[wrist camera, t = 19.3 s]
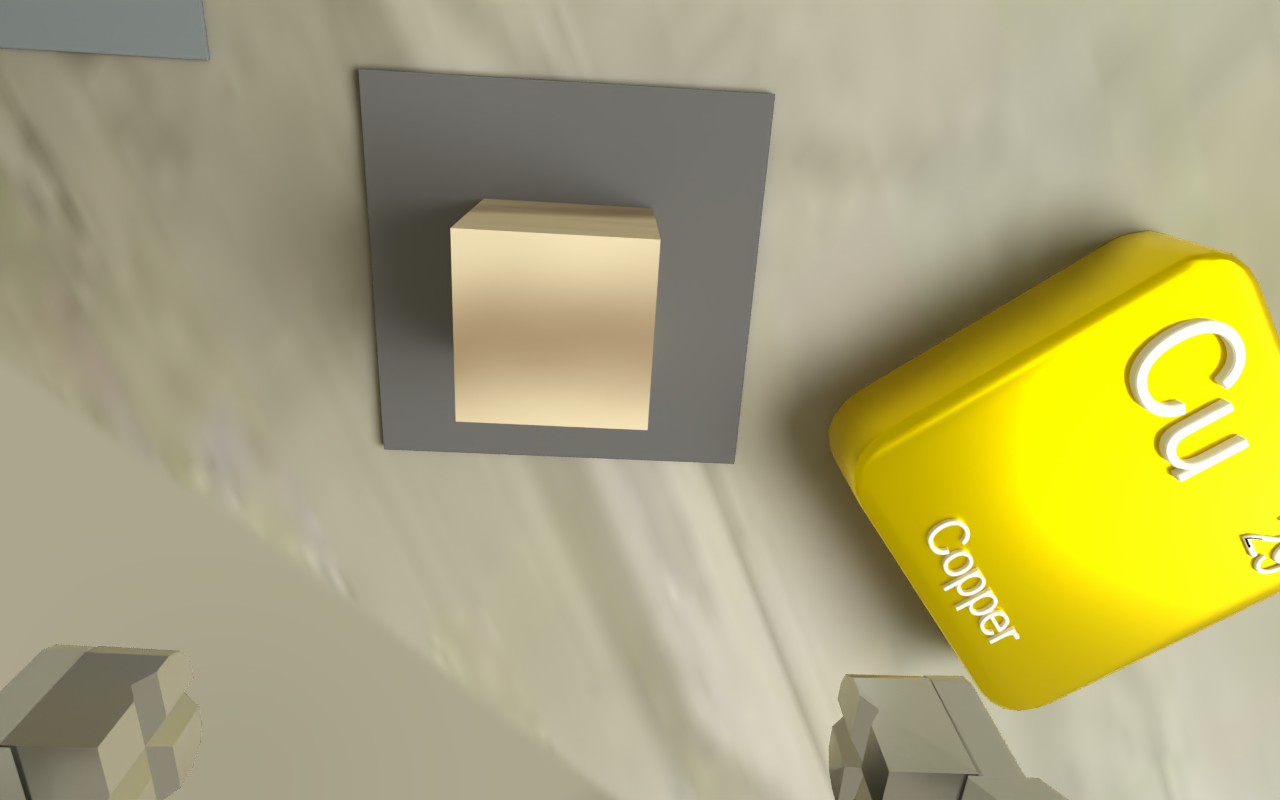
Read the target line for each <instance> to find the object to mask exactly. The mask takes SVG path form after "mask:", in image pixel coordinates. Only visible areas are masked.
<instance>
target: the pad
mask: <svg viewBox="0 0 1280 800" xmlns="http://www.w3.org/2000/svg"><path fill="white" fill-rule="evenodd" d="M358 70H359V85H360V100H361V115H362V129H363V144H364V159H365V174H366V189H367V204H368V219H369V233H370V248H371V263H372V278H373V293H374V308H375V322H376V337H377V352H378V367H379V382H380V397H381V412H382V426H383V441H384V449H388V450H412V451H436V452H460V453H485V454H509V455H533V456H557V457H581V458H606V459H630V460H654V461H678V462H702V463H727V464H734V462H735V453H736V443H737V434H738V425H739V416H740V407H741V398H742V389H743V380H744V371H745V362H746V353H747V344H748V335H749V326H750V317H751V308H752V299H753V290H754V281H755V272H756V263H757V253H758V244H759V235H760V226H761V217H762V208H763V199H764V190H765V181H766V172H767V163H768V154H769V145H770V136H771V127H772V118H773V109H774V100H775V94H767V93H750V92H734V91H717V90H700V89H684V88H667V87H651V86H634V85H617V84H601V83H584V82H567V81H551V80H534V79H518V78H501V77H484V76H468V75H451V74H434V73H418V72H401V71H385V70H368V69H358ZM483 199H500V200H517V201H535V202H552V203H570V204H588V205H605V206H623V207H640V208H653V210H654V214H655V219H656V223H657V227H658V231H659V235H660V239H661V241H660V255H659V270H658V285H657V299H656V314H655V329H654V343H653V358H652V372H651V387H650V402H649V416H648V430H631V429H609V428H587V427H565V426H543V425H521V424H499V423H477V422H456V414H455V378H454V341H453V305H452V269H451V232H450V228H451V227H452V226H453V225H454V224H456V223H457V222H458V221H459V220H460V219H461V218H462V217H463V216H465V215H466V214H467V213H468V212H469V211H470V210H471V209H473V208H474V207H475V206H476V205H477V204H478V203H479V202H480V201H482V200H483Z"/></svg>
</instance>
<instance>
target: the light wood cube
mask: <svg viewBox="0 0 1280 800" xmlns="http://www.w3.org/2000/svg"><path fill="white" fill-rule="evenodd" d="M450 232H451V269H452V305H453V341H454V378H455V414H456V422H477V423H499V424H521V425H543V426H565V427H587V428H609V429H631V430H648V416H649V402H650V387H651V372H652V358H653V343H654V329H655V314H656V299H657V285H658V270H659V255H660V241H661V239H660V235H659V231H658V227H657V223H656V219H655V214H654V210H653V208H640V207H623V206H605V205H588V204H570V203H552V202H535V201H517V200H500V199H483V200H482V201H480V202H479V203H478V204H477V205H476V206H475V207H474V208H473V209H471V210H470V211H469V212H468V213H467V214H466V215H465V216H463V217H462V218H461V219H460V220H459V221H458V222H457V223H456V224H454V225H453V226H452V227H451V228H450Z"/></svg>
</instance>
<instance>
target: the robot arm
mask: <svg viewBox="0 0 1280 800" xmlns="http://www.w3.org/2000/svg"><path fill="white" fill-rule="evenodd" d="M193 678H194V677H193V672H192V668H191V664H190V660H189V656H188V655H186V654H184V653H182V652H180V651H173V650H157V649H139V648H122V647H105V646H98V647H91V646H74V645H54V646H52V647H49V648H46V649H44V650H42V651H41V652H40V653H39V654H38V655H37V656H36V657H35V658H34V659H33V660H32V661H31V662H30V663H29V664H28V665H27V666H26V667H25V668H24V669H23V670H22V671H21V672H20V673H19V674H18V675H17V676H16V677H15V678H14V679H13V680H11V681H10V683H8V685H6V686H5V687H4V688H3V690H2V691H0V800H163V799H165V798H166V797H168V796H169V795H171V794H172V793H173V792H175V791H177V790H178V789H180V788H181V786H182V784H183V783H184V781H185V780H186V778H187V776H188V774H189V773H190V771H191V769H192V768H193V765H194V762H195V759H196V755H197V752H198V749H199V746H200V742H201V727H202V721H201V715H200V709H199V706H198V705H197V704H196V703H195V702H194V701H193V700H192V699H191V698H190V697H189V696H188V695H187V694H186V693H185V692H184V691H185V689H186V687H187V686H188V685H189V684H190V682H191V681H192V679H193ZM838 701H839V704H840V707H841V710H842V713H843V717H842V718H841V719H840V720H839V721H838V722H837V723H836V724H835V725H834V726H832V732H831V738H830V744H829V772H830V778H831V785H832V790H833V793H834V797H835V800H1068V799H1067V798H1065V797H1064V796H1062V795H1061V794H1060V793H1058V792H1057V791H1056V790H1054V789H1053V788H1051V787H1050V786H1049V785H1047V784H1046V783H1044V782H1043V781H1042V780H1040V779H1039V778H1026V776H1025V775H1024V773H1023V771H1022V770H1021V768H1020V766H1019V764H1018V763H1017V761H1016V759H1015V757H1014V756H1013V754H1012V752H1011V751H1010V749H1009V747H1008V745H1007V744H1006V742H1005V740H1004V739H1003V737H1002V735H1001V733H1000V732H999V730H998V728H997V727H996V725H995V723H994V721H993V720H992V718H991V716H990V715H989V713H988V711H987V709H986V708H985V706H984V704H983V702H982V701H981V699H980V697H979V696H978V694H977V692H976V690H975V689H974V687H973V685H972V684H971V682H970V681H969V680H968V679H966V678H965V677H964V676H923V677H921V676H892V675H857V674H846V675H845V677H844V678H843V680H842V682H841V686H840V691H839V695H838Z"/></svg>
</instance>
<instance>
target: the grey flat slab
mask: <svg viewBox="0 0 1280 800" xmlns="http://www.w3.org/2000/svg"><path fill="white" fill-rule="evenodd" d="M0 47H1V48H18V49H34V50H51V51H68V52H84V53H101V54H118V55H134V56H151V57H167V58H184V59H201V60H210V59H209V51H208V44H207V36H206V28H205V21H204V13H203V5H202V0H0Z"/></svg>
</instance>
